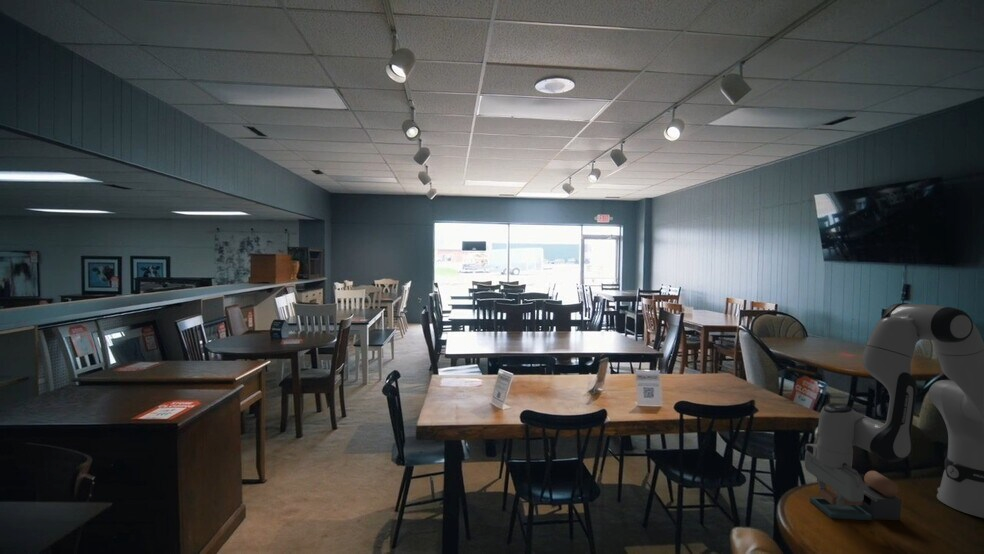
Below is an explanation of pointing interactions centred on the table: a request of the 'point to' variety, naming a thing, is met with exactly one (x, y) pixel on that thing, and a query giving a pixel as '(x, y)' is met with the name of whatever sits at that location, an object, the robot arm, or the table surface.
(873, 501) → the dispenser
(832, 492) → the ticket
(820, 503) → the tray
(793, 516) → the table surface
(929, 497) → the table surface
